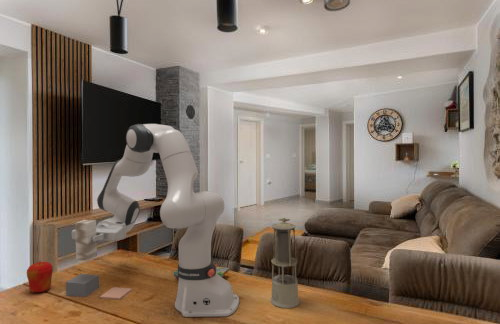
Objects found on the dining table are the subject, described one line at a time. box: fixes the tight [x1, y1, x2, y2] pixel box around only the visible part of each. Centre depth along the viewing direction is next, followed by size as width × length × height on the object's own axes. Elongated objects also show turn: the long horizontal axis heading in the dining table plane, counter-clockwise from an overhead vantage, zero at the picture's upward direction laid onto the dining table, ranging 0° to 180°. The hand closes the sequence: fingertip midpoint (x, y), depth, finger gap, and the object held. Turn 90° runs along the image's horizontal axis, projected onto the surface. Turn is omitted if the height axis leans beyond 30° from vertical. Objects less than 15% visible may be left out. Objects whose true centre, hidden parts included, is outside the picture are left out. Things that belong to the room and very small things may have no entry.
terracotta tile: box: [99, 286, 133, 301], centre depth 119 cm, size 8×8×1 cm
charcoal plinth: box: [65, 273, 100, 298], centre depth 121 cm, size 8×8×5 cm
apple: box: [26, 260, 54, 294], centre depth 122 cm, size 9×8×12 cm
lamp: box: [270, 217, 301, 309], centre depth 113 cm, size 10×13×30 cm
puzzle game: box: [172, 266, 230, 280], centre depth 133 cm, size 12×5×20 cm
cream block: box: [74, 219, 98, 261], centre depth 120 cm, size 5×5×14 cm
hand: (84, 239), depth 119 cm, fingers closed on cream block, 5 cm apart
